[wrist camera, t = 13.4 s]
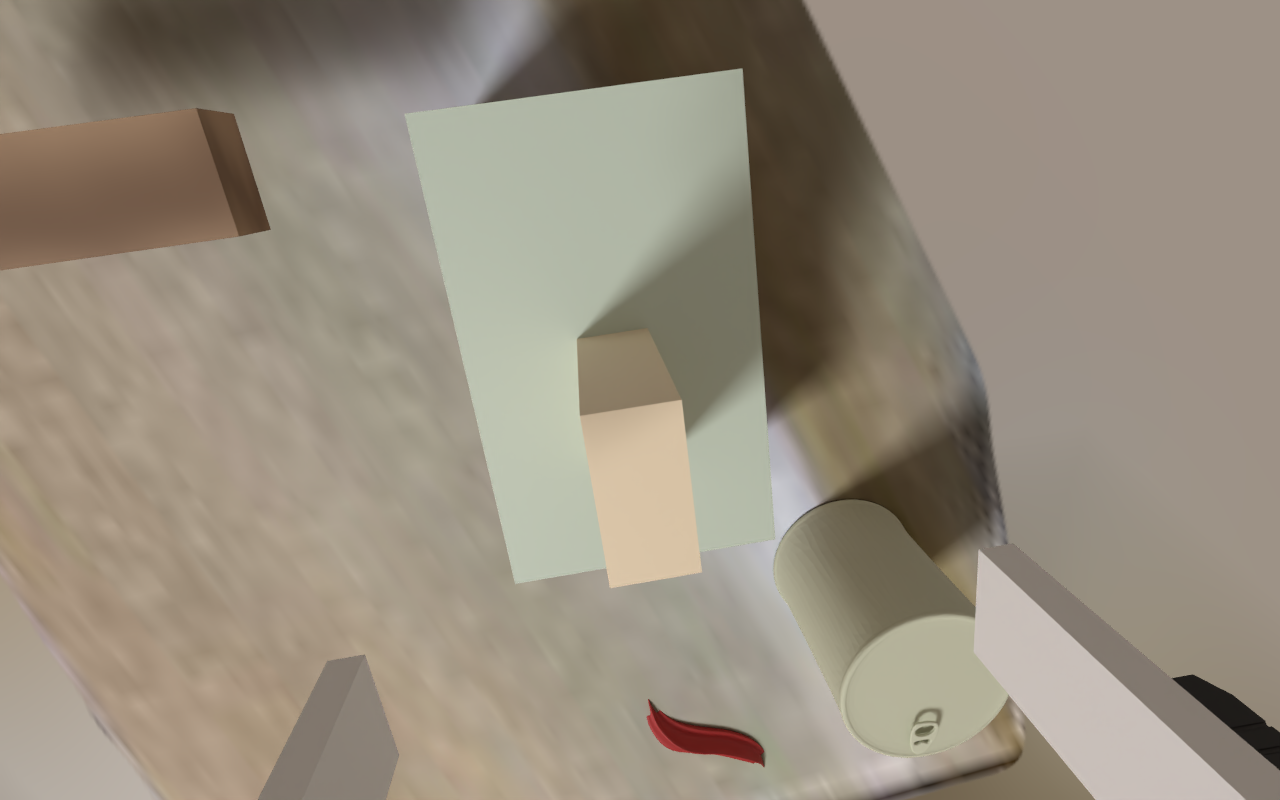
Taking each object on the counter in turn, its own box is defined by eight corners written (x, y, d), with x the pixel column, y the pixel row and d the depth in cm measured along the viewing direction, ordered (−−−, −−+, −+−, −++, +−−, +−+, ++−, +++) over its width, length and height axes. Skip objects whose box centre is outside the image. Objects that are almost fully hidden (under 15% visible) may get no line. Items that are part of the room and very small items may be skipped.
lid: (411, 116, 25) (314, 85, 16) (734, 72, 26) (832, 18, 16) (517, 569, 32) (494, 739, 23) (768, 526, 33) (849, 674, 23)
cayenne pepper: (624, 710, 47) (627, 731, 45) (672, 670, 46) (676, 690, 44) (732, 791, 50) (738, 814, 49) (777, 755, 50) (785, 777, 48)
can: (770, 623, 45) (837, 776, 34) (775, 504, 42) (850, 629, 31) (900, 611, 46) (1007, 756, 34) (914, 492, 43) (1038, 610, 31)
